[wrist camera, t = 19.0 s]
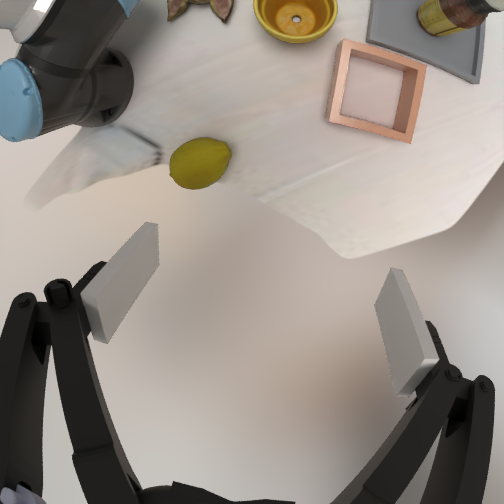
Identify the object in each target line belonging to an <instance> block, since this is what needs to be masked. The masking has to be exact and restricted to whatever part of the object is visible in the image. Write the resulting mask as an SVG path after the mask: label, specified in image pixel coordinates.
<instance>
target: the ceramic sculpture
mask: <svg viewBox="0 0 504 504" xmlns="http://www.w3.org/2000/svg"><path fill="white" fill-rule="evenodd" d="M187 1H188V2H191V3H195V4H204V3H208V2H210V6H211V9H212V11H213V12H214V13H215V14H216V15H217V16H218V17H219V18H220V19H221V20H222V22H223V23H226V21H227V19H228V17H229V15H230V12H231V9H232V5H233V0H167V3H168V19H167V21H168V22H169V21H171V20H172V19H173V18H175V17H176V16H178V15H179V14H181V13H182V12H183V11H185V10H186V8H187Z"/></svg>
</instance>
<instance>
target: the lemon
mask: <svg viewBox="0 0 504 504" xmlns="http://www.w3.org/2000/svg"><path fill="white" fill-rule="evenodd" d="M231 155H232V154H231V150H230V148H229V147H228V146H227V144H226V143H225V142H221V141H217V140H215V139H212V138H196V139H193V140H191V141H189V142H187V143H185V144H183V145H182V146H180V147H179V148H178V149H177V150H176V151H175V152H174V153H173V154H172V156H171V159H170V176H171V177H172V178H173V179H174V181H175V182H176V183H177V184H178V185H180V186H181V187H183V188H186V189H193V190H194V189H201V188H205V187H208V186H210V185H212V184H213V183H215V182H216V181H217V180H218V179H219V178H220V177H221V176H222V175H223V173H224V172H225V170H226V168H227V166H228V161H229V159H230V157H231Z"/></svg>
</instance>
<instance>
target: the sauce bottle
mask: <svg viewBox="0 0 504 504" xmlns="http://www.w3.org/2000/svg"><path fill="white" fill-rule="evenodd" d="M503 10H504V0H427V1H426V2H424V3H423V4H422V5H421V6H420V8H419V9H418V11H417V19H418V22H419V24H420V26H421V27H422V28H423V29H424V30H425V31H426V32H427V33H429V34H430V35H432V36H436V37H439V36H448V35H451V34H454V33H457V32H460V31H464V30H468V29H471V28H473V27H476V26H479V25H481V24H482V22H483V21H484V20H485V18H486V17H487V16H488V14H489V13H491V12H501V11H503Z"/></svg>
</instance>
